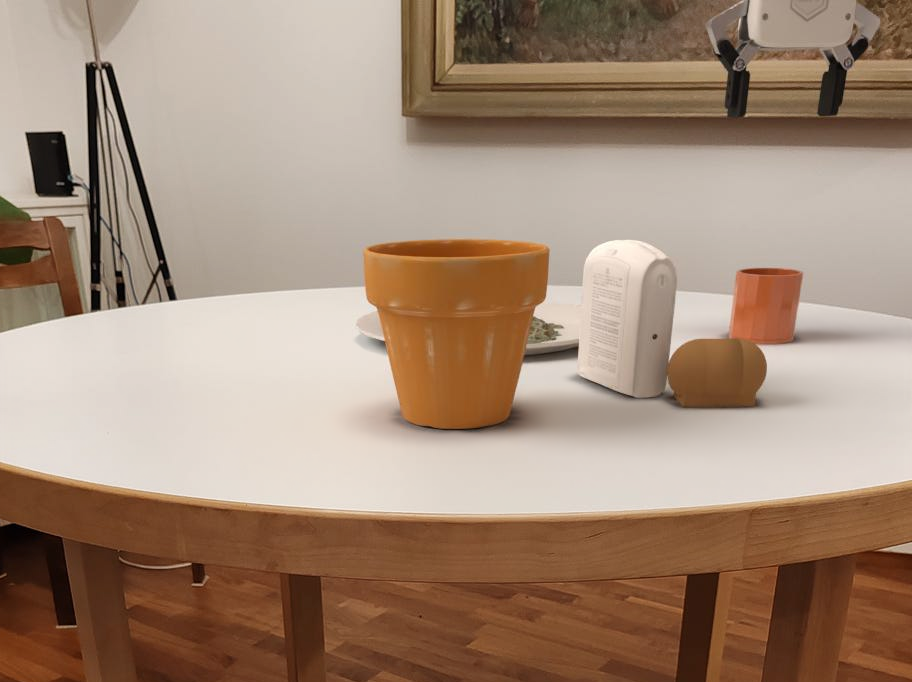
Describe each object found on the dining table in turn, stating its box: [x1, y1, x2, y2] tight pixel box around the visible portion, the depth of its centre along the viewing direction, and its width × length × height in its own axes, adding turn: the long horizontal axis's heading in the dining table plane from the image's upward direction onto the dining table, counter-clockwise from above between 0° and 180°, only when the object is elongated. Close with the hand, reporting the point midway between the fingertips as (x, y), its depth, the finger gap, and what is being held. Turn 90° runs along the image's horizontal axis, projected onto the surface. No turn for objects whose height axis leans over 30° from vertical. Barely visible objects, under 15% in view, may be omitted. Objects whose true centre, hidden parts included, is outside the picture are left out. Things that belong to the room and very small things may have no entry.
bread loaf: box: [667, 337, 768, 408], centre depth 83 cm, size 8×5×5 cm, turn 89°
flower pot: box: [362, 238, 551, 430], centre depth 78 cm, size 14×14×13 cm
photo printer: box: [577, 239, 678, 399], centre depth 87 cm, size 10×4×12 cm, turn 23°
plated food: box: [355, 300, 582, 356], centre depth 111 cm, size 30×30×3 cm
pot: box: [728, 267, 804, 345], centre depth 107 cm, size 7×7×7 cm
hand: (781, 116), depth 100 cm, fingers open, 9 cm apart
